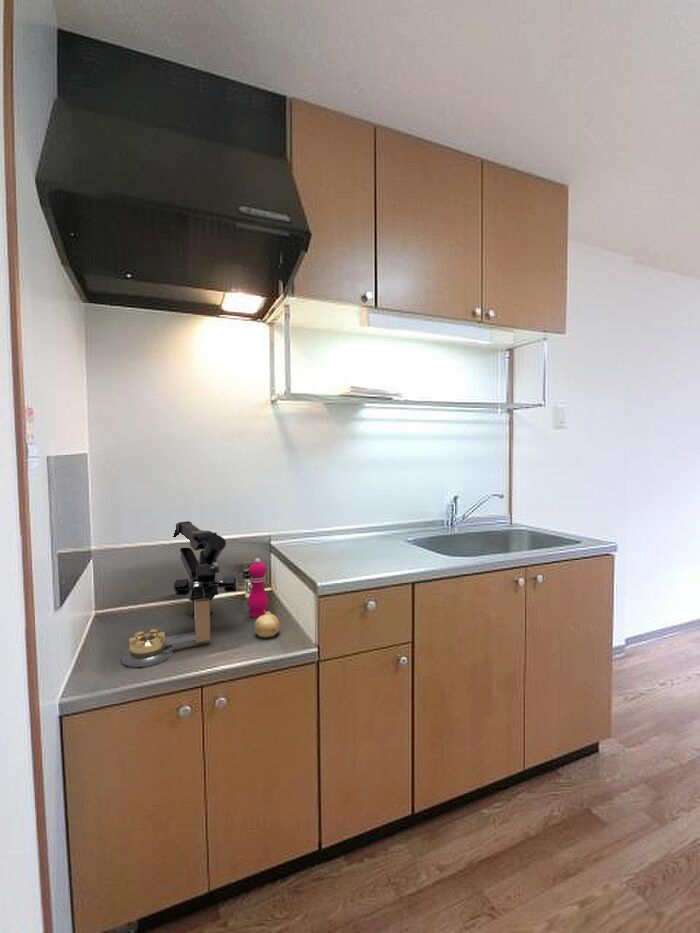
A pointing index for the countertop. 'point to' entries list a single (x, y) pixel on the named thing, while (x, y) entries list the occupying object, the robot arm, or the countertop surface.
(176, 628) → the countertop surface
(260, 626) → the onion
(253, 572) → the pepper mill
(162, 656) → the flange
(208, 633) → the crank handle
